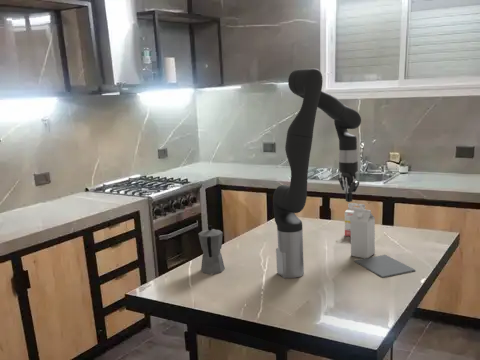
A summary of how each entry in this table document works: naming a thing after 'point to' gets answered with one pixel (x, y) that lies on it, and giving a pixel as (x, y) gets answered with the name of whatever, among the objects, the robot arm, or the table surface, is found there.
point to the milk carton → (362, 233)
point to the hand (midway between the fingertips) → (349, 201)
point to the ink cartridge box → (348, 216)
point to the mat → (384, 266)
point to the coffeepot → (211, 251)
